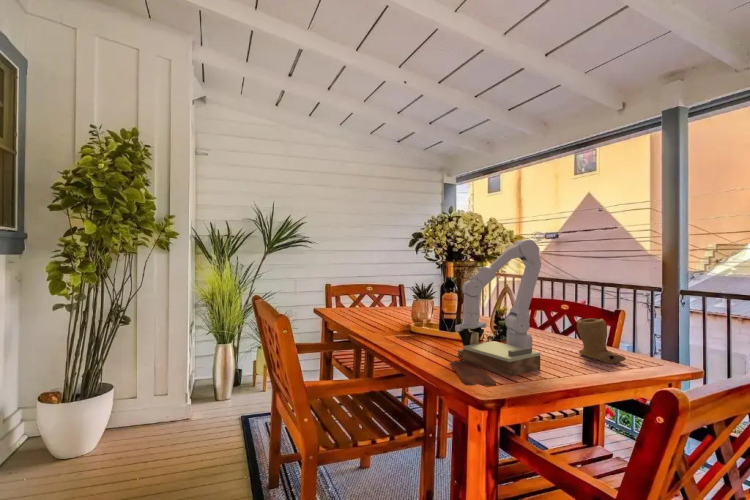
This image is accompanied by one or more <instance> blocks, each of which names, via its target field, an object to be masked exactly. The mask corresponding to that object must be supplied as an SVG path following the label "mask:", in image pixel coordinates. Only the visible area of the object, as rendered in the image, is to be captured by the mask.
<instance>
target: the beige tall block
mask: <svg viewBox="0 0 750 500" xmlns="http://www.w3.org/2000/svg"><path fill="white" fill-rule="evenodd" d="M468 331H469V332H472V335H471V338H470V345H472V344H479V343H480V341H479V333H477V332H473V331H470V330H468Z"/></svg>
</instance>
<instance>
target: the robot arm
mask: <svg viewBox="0 0 750 500" xmlns="http://www.w3.org/2000/svg"><path fill="white" fill-rule="evenodd" d="M540 249H541V248H540V247H539V246H538V244H537V243H536V242H535V240H532V239H525V240H521V239H520V240H519V239H518V240H516V241H514V242H513V244H510V245H509V246H508V247H507V248H506V249H505V250H504V251H503V252H502V253H501V254H500V255H499V256H498V257H497V258H496V259H495V260H494V261H493V262H492V263H491V264H490V265H488V266H487V265H484V266H481V267H479V268H478V271H477V272H476V273H475V274H474V275H473V276H470V277H469V280H466V281H464V283H463V284H462V286H461V291H462V292H463V306H462V307H463V311H462V312H463V314H462V315H463V318H462V319H463V320H462V321H463V322H461V323H460V324H456V325H455V326H454V331H455V332H457V333H458V334H459V338H460V339H461V343H462V347H463V346H466V345H470V338H471V335H472V332H469V331H473V332H477V333H479V342H480V341H481V338H482V336H483V334H484V333H485V329H486V328H487V322H485V321H480V295H481V294H482V291H483V289H484V288H485V287H486V286H487V285H488V284H489V283H491V281H493V280H494V279H495V278H496V273H497V271H499V270H500V269H501V268H503V267H504V266H505V265H506V264H508V263H509V262H510V261H511V260H513V259H519V260H521V262H522V263H523V265H524V270H523V273H522V277H521V280H520V284H519V287H518V291H517V294H516V297H515V300H514V304H513V306H512V307H511V308H510V310H509V313H508V314H507V315H506V316H505V318H504V325H505V327H506V328H507V329H506V344H508V345H512V346H516V347H520V348H526V347H529V348H532V349H533V337H532V335H531V334H530V333H529V330H530V325H531V324H530V318H531V315H530V311H529V309H530V304H531V302H532V298H533V296H534V292H535V288H536V284H537V282H538V278H539V274H540V271H541V268H542V261H541V257H540V256H541V255H540Z"/></svg>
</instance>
